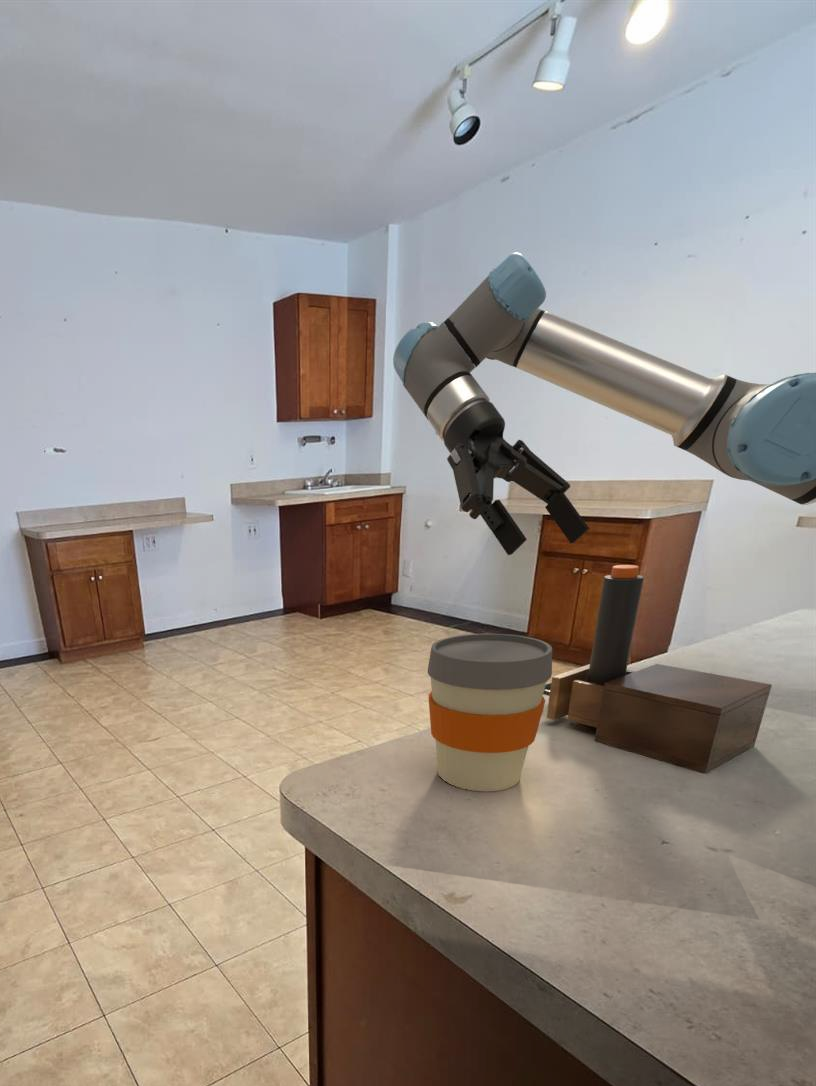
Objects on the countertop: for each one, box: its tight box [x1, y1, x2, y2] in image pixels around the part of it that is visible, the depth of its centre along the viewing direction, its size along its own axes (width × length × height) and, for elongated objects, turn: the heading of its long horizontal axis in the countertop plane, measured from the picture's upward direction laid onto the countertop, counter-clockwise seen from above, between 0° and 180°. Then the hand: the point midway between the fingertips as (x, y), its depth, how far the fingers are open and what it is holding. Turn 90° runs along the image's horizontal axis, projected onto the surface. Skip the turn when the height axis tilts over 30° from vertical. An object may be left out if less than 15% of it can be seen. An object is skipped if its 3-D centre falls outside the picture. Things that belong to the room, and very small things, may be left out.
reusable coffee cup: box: [426, 633, 553, 792], centre depth 71 cm, size 13×13×15 cm
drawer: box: [543, 663, 637, 729], centre depth 84 cm, size 15×10×6 cm
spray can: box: [587, 564, 645, 686], centre depth 80 cm, size 5×5×18 cm
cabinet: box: [594, 663, 773, 774], centre depth 76 cm, size 13×12×8 cm
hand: (550, 541), depth 83 cm, fingers open, 13 cm apart
